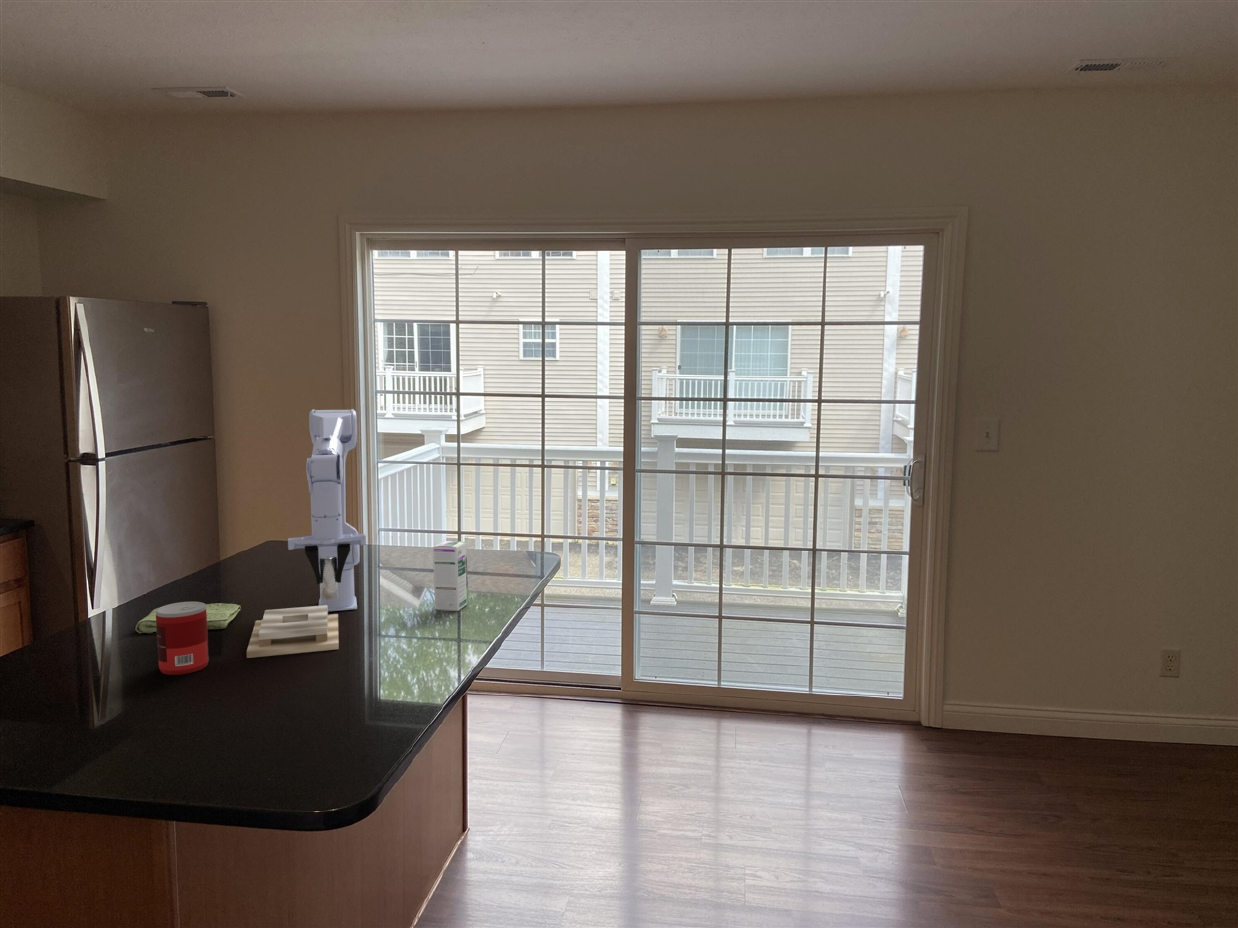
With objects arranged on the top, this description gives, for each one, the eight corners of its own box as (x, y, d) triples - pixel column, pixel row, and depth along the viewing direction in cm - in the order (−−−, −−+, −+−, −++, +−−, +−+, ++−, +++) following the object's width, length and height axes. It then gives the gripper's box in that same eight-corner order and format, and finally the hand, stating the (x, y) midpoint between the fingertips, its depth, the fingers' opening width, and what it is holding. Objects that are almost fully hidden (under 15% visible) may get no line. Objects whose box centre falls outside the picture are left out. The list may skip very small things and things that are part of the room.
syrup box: (458, 611, 184) (457, 546, 183) (433, 609, 185) (432, 545, 184) (468, 604, 190) (467, 541, 188) (444, 602, 191) (442, 540, 189)
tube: (321, 595, 169) (320, 556, 168) (338, 594, 170) (336, 555, 169) (320, 599, 166) (319, 560, 165) (337, 598, 167) (336, 559, 166)
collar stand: (256, 626, 173) (255, 608, 173) (338, 619, 178) (337, 601, 178) (246, 657, 154) (245, 637, 154) (338, 648, 159) (338, 629, 159)
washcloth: (229, 631, 171) (228, 616, 171) (133, 637, 167) (132, 621, 167) (242, 613, 184) (242, 599, 183) (154, 618, 180) (153, 603, 179)
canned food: (218, 662, 152) (215, 603, 150) (182, 678, 144) (179, 615, 143) (185, 657, 154) (182, 599, 153) (148, 672, 147) (145, 611, 145)
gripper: (286, 520, 160) (289, 590, 162) (365, 516, 165) (367, 584, 166) (287, 514, 167) (290, 581, 168) (364, 510, 171) (365, 575, 173)
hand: (328, 582), depth 168 cm, fingers closed on tube, 3 cm apart
